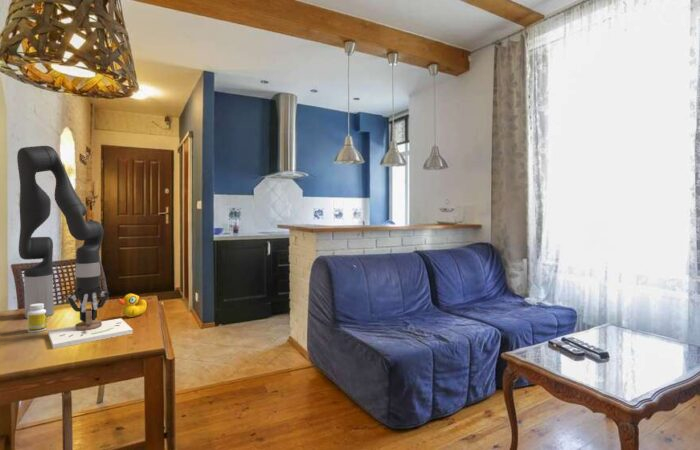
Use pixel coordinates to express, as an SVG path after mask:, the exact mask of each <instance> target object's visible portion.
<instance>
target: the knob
mask: <svg viewBox="0 0 700 450" xmlns="http://www.w3.org/2000/svg"><path fill="white" fill-rule="evenodd" d="M85 312H86V322H82V321H81V322H78V323H76V324H75V325H74V326H75V329H76V330H90V329H95V328H98V327H100V326H101V325H102V320H99V319H98V320H97V319H95V320H92V307H90V308H86V309H85Z"/></svg>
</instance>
